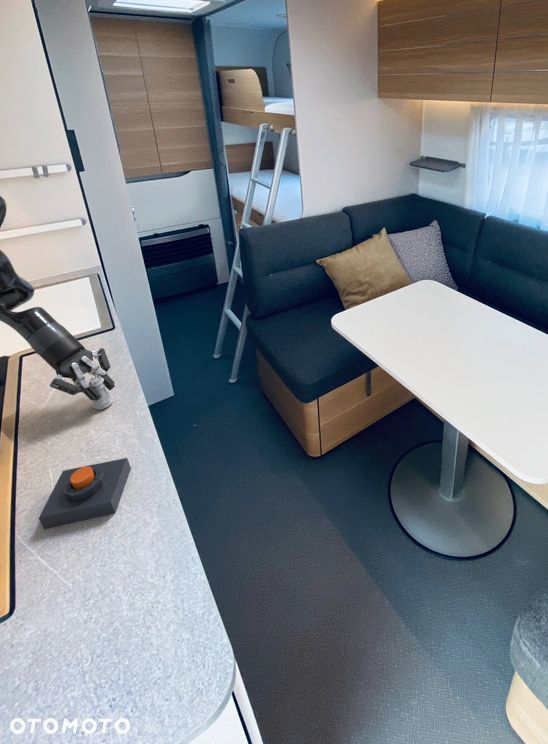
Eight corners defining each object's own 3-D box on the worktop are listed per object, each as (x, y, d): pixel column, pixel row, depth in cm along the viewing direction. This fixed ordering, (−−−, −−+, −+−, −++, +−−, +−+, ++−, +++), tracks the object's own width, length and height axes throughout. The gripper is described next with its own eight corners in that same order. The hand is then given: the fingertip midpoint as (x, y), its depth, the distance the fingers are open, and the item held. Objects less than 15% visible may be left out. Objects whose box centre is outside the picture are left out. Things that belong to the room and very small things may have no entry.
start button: (69, 491, 78) (66, 485, 77) (77, 474, 81) (74, 468, 80) (90, 487, 78) (87, 480, 78) (97, 470, 82) (95, 464, 81)
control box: (44, 529, 76) (34, 511, 74) (67, 481, 85) (60, 464, 83) (115, 513, 78) (108, 495, 76) (131, 468, 87) (125, 451, 85)
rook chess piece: (99, 413, 101) (90, 387, 98) (90, 406, 104) (80, 381, 100) (117, 401, 105) (109, 376, 102) (108, 395, 107) (99, 370, 104)
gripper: (29, 354, 93) (84, 408, 94) (86, 321, 105) (134, 369, 106) (21, 369, 97) (74, 420, 98) (77, 335, 109) (124, 381, 110)
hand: (105, 393), depth 102 cm, fingers closed on rook chess piece, 3 cm apart
